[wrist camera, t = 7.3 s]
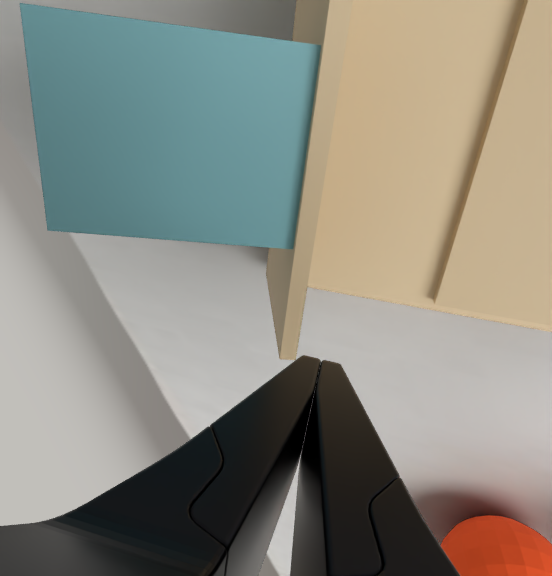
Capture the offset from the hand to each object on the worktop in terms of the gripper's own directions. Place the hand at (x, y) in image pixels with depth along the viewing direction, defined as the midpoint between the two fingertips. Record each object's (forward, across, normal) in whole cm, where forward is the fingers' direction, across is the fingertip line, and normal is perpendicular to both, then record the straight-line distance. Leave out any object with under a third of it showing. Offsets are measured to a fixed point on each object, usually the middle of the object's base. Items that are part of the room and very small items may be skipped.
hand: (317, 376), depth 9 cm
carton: (+12, -4, -4) cm, 13 cm away
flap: (+7, +2, -4) cm, 8 cm away
